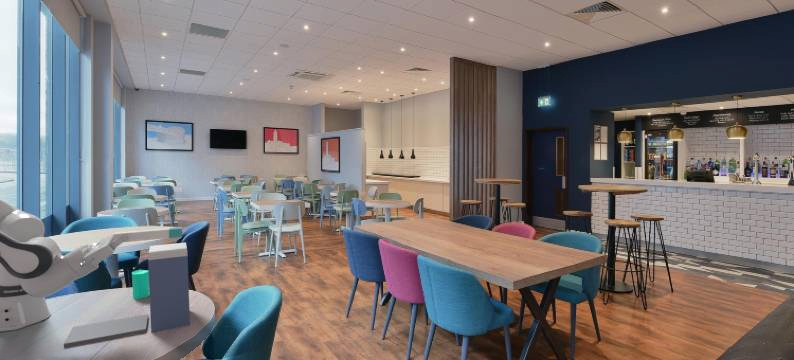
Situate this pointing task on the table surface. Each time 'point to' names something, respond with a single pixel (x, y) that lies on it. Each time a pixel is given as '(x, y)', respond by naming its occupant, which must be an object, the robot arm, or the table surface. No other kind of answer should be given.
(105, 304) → the table surface
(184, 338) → the table surface
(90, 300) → the table surface
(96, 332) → the board
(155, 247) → the tall slate-blue pillar
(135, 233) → the white and teal box
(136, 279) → the candle
